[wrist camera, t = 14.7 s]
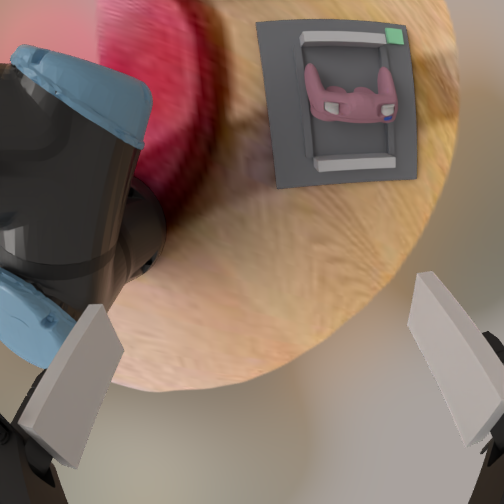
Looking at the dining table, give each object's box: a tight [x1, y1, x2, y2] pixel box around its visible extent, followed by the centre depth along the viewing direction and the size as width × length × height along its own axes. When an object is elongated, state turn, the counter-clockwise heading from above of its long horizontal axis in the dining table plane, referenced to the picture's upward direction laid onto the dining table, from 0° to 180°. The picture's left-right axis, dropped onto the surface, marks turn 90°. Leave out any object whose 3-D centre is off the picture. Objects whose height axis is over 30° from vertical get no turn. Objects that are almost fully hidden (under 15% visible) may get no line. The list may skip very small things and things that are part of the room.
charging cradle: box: [256, 19, 417, 189], centre depth 30 cm, size 18×20×4 cm
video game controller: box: [304, 63, 398, 123], centre depth 27 cm, size 10×5×7 cm
